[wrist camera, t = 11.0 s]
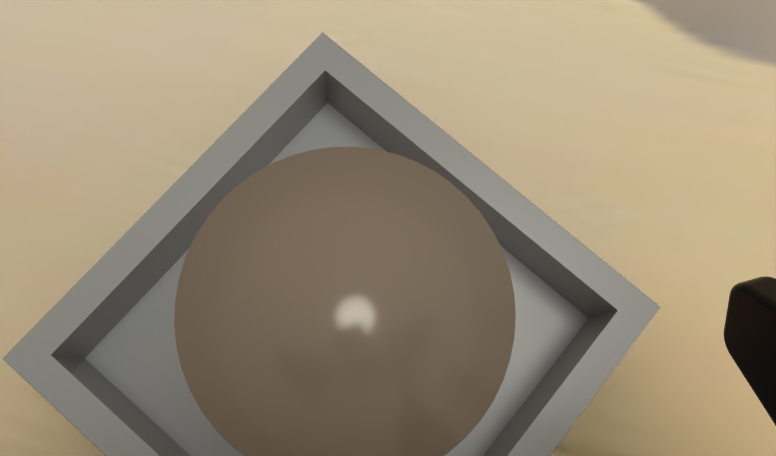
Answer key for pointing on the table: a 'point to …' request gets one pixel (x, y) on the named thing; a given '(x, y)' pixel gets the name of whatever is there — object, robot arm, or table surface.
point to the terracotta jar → (345, 309)
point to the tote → (256, 151)
